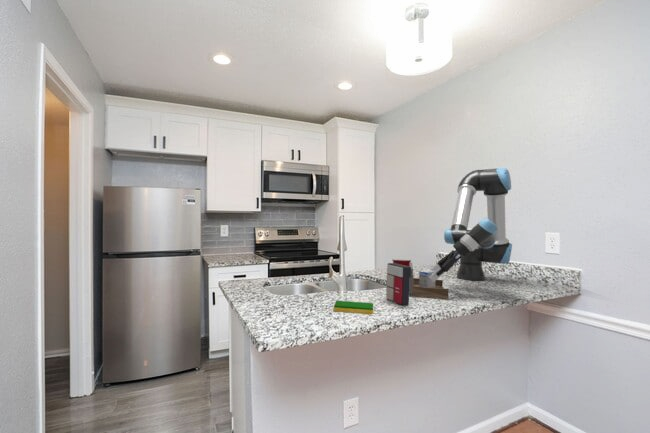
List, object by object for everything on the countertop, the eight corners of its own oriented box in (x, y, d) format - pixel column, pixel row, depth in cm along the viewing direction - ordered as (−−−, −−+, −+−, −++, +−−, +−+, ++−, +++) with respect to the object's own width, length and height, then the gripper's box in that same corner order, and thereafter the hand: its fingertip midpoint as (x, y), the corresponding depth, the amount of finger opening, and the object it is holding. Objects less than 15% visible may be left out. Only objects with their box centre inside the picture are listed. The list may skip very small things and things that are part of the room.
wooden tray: (408, 285, 155) (409, 262, 155) (442, 288, 151) (442, 264, 151) (409, 295, 134) (410, 268, 134) (448, 299, 130) (448, 271, 130)
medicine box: (426, 287, 147) (427, 269, 147) (435, 289, 143) (436, 270, 144) (418, 289, 141) (419, 271, 141) (427, 291, 138) (428, 272, 138)
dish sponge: (336, 306, 116) (336, 300, 116) (373, 309, 113) (373, 302, 113) (333, 312, 109) (333, 305, 109) (372, 315, 106) (372, 308, 106)
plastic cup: (409, 278, 176) (409, 257, 176) (412, 282, 165) (413, 260, 165) (390, 277, 177) (390, 257, 177) (392, 281, 166) (393, 259, 166)
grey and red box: (384, 298, 128) (385, 263, 128) (393, 298, 129) (394, 262, 130) (401, 305, 118) (402, 267, 118) (410, 304, 119) (411, 266, 120)
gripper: (477, 255, 126) (438, 288, 129) (466, 249, 150) (433, 278, 153) (463, 241, 127) (425, 275, 131) (455, 238, 151) (423, 267, 155)
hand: (430, 277), depth 142 cm, fingers open, 13 cm apart
